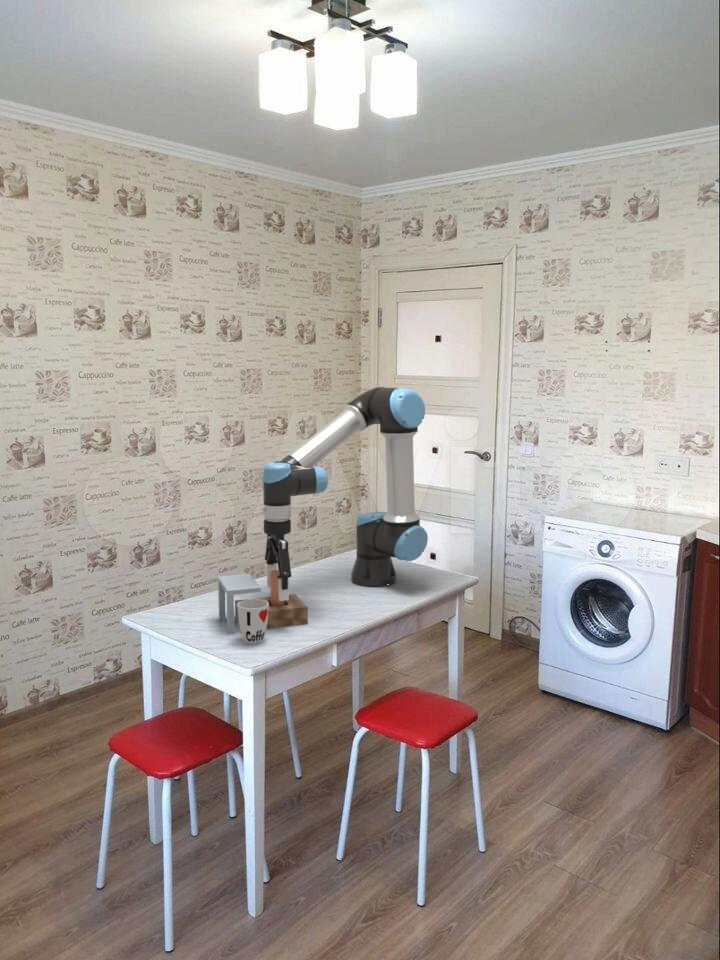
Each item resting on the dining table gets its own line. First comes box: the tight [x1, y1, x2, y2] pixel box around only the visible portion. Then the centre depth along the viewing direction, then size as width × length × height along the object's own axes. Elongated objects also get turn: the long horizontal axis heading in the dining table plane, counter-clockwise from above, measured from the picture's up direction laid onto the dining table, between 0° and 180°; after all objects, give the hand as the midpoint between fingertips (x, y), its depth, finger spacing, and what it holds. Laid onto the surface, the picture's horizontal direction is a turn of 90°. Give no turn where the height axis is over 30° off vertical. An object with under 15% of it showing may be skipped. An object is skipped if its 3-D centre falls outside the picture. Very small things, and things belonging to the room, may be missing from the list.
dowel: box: [269, 569, 285, 607], centre depth 214 cm, size 4×4×14 cm
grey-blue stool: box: [217, 573, 262, 636], centre depth 210 cm, size 9×14×12 cm, turn 21°
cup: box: [237, 598, 269, 645], centre depth 199 cm, size 8×8×10 cm
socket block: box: [234, 593, 309, 630], centre depth 214 cm, size 18×12×5 cm, turn 111°
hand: (277, 593), depth 214 cm, fingers open, 12 cm apart
